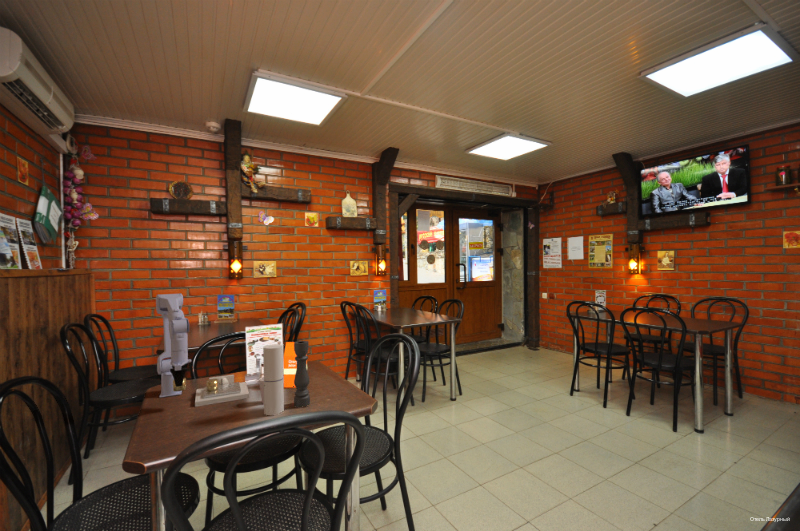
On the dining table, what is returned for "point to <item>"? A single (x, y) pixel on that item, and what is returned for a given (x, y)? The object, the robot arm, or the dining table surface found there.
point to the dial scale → (221, 398)
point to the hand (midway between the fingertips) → (179, 384)
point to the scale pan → (223, 390)
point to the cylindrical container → (273, 379)
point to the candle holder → (301, 374)
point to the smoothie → (262, 388)
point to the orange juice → (290, 365)
